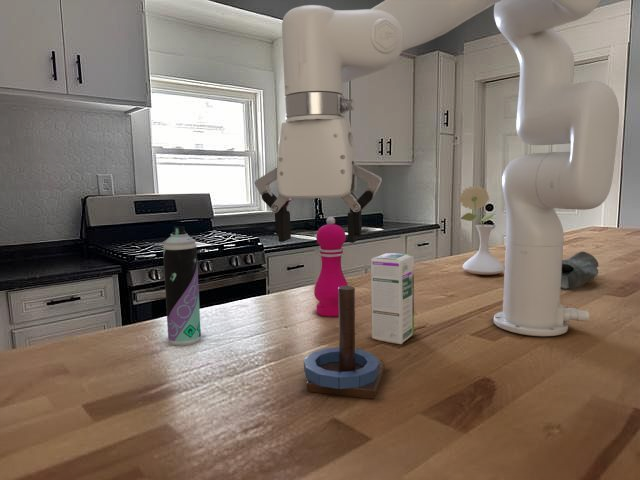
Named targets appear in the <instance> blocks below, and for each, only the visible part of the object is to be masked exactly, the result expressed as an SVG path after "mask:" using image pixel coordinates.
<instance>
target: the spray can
mask: <svg viewBox="0 0 640 480" xmlns="http://www.w3.org/2000/svg"><path fill="white" fill-rule="evenodd" d="M196 242H197V241H196V239H194V238H193V237H191V236H189V234H188V233H187V231H185V226H173V232H172V233H170V236H169V237H168V238H167V239H165V240H163V242H162V243H163V245H162V255H163V271H164V290H165V291H164V292H165V309H166V323H167V324H166V325H167V326H166V327H167V339H168V340H167V341H168V343H169V345H171V346H177V347H178V346H179V347H181V346H189V345H194V344H196V343H198V342H200V341H201V339H202V331H201V312H200V309H201V308H200V289H199V287H200V286H199V269H198V251H197V249H198V247H197V243H196Z"/></svg>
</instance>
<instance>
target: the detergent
mask: <svg viewBox="0 0 640 480" xmlns="http://www.w3.org/2000/svg"><path fill="white" fill-rule="evenodd" d="M598 267H599V262H598V260H597V258H596V257H594V255H592V254H591V253H589V252H586V251H579V252H576V253H574V254H573V255H571V256H570V257H568V258H567V259H562V273H561V289H564V290H567V289H568V290H569V289H574V288H578V287H581V286H583V285H585V284H586V283H588V282H589V281H591V279H593V278H594V277H596V276H598V275H599V269H598Z"/></svg>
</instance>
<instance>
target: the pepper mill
mask: <svg viewBox="0 0 640 480" xmlns="http://www.w3.org/2000/svg"><path fill="white" fill-rule="evenodd" d="M346 235H347V234H346V231H345V229H343V227H342V226H340V225H338V224H336V219H335V217H334V216H328V217H327V218H326V224H324V225H322V226H321V227H319V228H318V230H317V232H316V239H315V240H316V243H317V245H319V248H318V252H319V253H318V255H319V256H320V261H321V268H320V271H319V274H318V277H317V280H316V282H315V285H314V289H313V290H314V291H313V294H314V297H315V299H316V300H317V301H318V302H317V303H316V313H317V315H319V316H322V317H327V318H328V317H329V318H330V317H331V318H332V317H333V318H334V317H339V287H341V286H349V285H348V281H347V279H346V277H345V275H344V272H343V270H342V269H343V268H342V257H343V256H344V248H343V245H344V244H345V242H346V240H347V239H346V238H347V237H346Z"/></svg>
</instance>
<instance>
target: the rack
mask: <svg viewBox="0 0 640 480" xmlns="http://www.w3.org/2000/svg"><path fill="white" fill-rule="evenodd" d="M338 348H339V362H330V363H327V364H324V365H321V366H319V367H321V368H323V369H325V370H329V371H336V372H347V371H355V370H358V369H360V368H363V366H361V365H359V364H356V363H355V349H356V287H354V286H352V285H348V286H341V287H339V316H338ZM384 372H385V363H384V362H380V372H379V375H378V376H377V378H376V380H375V381H374V382H372V383H369V384H367V385H364V386H362V387H358V388H346V389H335V388H329V387H323V386H320V385H317V384H315V383H313V382H311V381H309V380H307V382H306V392H311V393H319V394H328V395H336V396H344V397H351V398H352V397H353V398H362V399H370V400H375V399H376V395H377V393H378V389H379V386H380V384H381V380H382V378H383V374H384Z"/></svg>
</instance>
